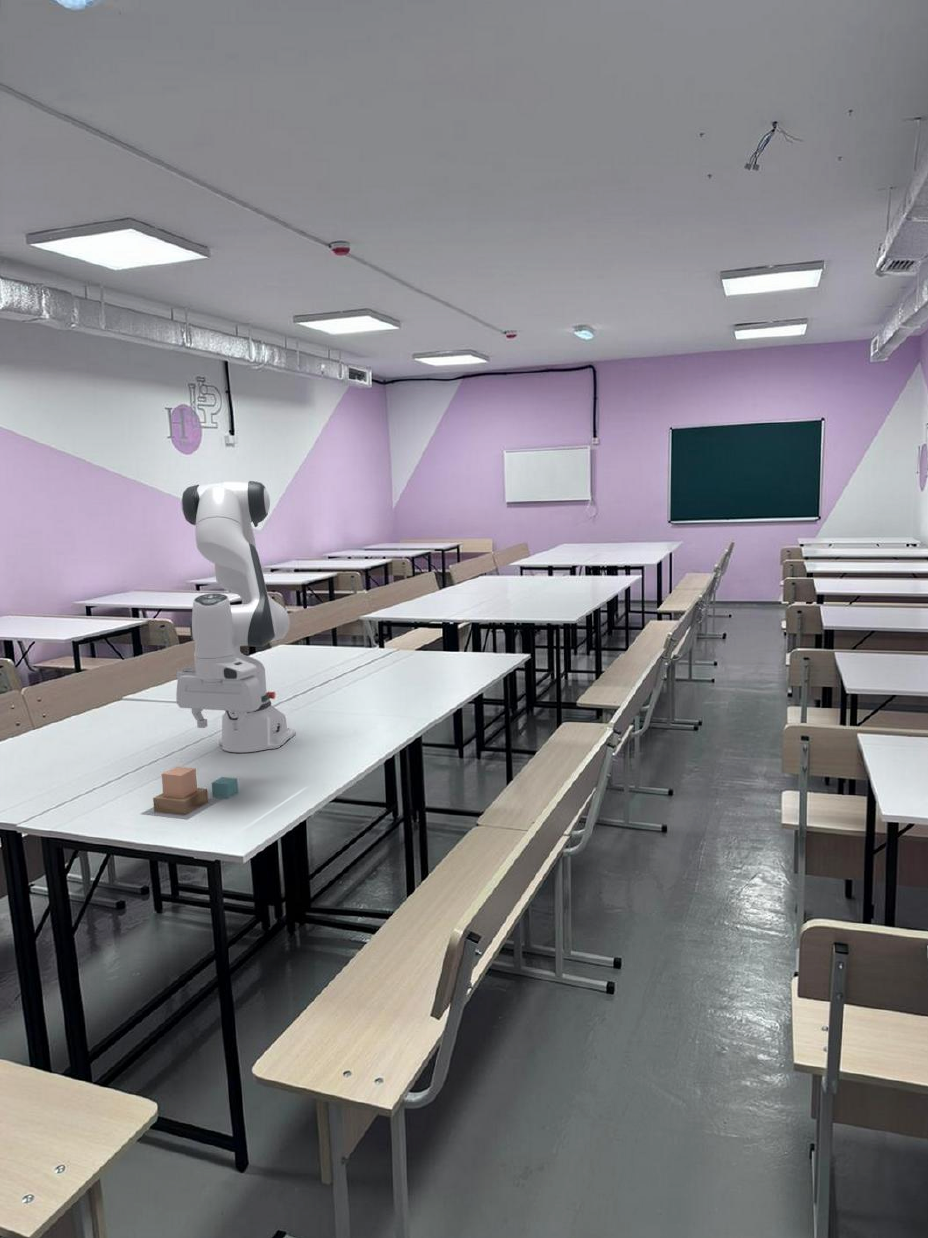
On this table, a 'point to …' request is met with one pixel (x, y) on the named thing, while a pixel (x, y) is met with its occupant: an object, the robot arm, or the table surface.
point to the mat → (179, 816)
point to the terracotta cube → (179, 782)
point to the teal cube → (224, 787)
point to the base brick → (180, 802)
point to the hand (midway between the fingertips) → (220, 728)
